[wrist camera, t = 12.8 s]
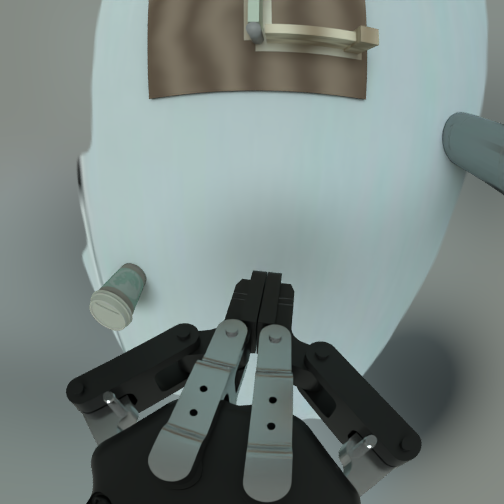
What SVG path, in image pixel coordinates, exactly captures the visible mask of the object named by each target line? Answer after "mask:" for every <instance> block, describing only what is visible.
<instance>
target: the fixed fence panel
mask: <svg viewBox="0 0 504 504" xmlns="http://www.w3.org/2000/svg"><path fill="white" fill-rule="evenodd" d="M265 36H266V40H267V43H283V44H301V45H313V46H323V47H331V48H339V49H344V52H348V53H354V54H360V53H362V52H364V51H366V50H369V49H371V48H373V47H375V46H378V45H379V31H378V29H375V28H370V27H366V26H359V27H358V28H357V29H355V30H354V31H347V30H341V29H334V28H326V27H317V26H307V25H292V24H265Z"/></svg>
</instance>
